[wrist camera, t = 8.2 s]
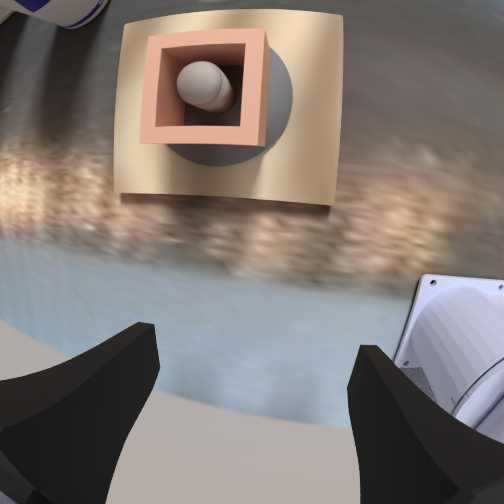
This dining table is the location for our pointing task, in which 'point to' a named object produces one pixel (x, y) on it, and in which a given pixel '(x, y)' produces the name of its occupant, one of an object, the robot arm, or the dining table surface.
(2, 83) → the dining table surface
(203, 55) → the salmon square tube
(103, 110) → the dining table surface
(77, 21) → the energy drink
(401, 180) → the dining table surface
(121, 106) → the post block
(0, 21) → the decorative jar
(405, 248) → the dining table surface
